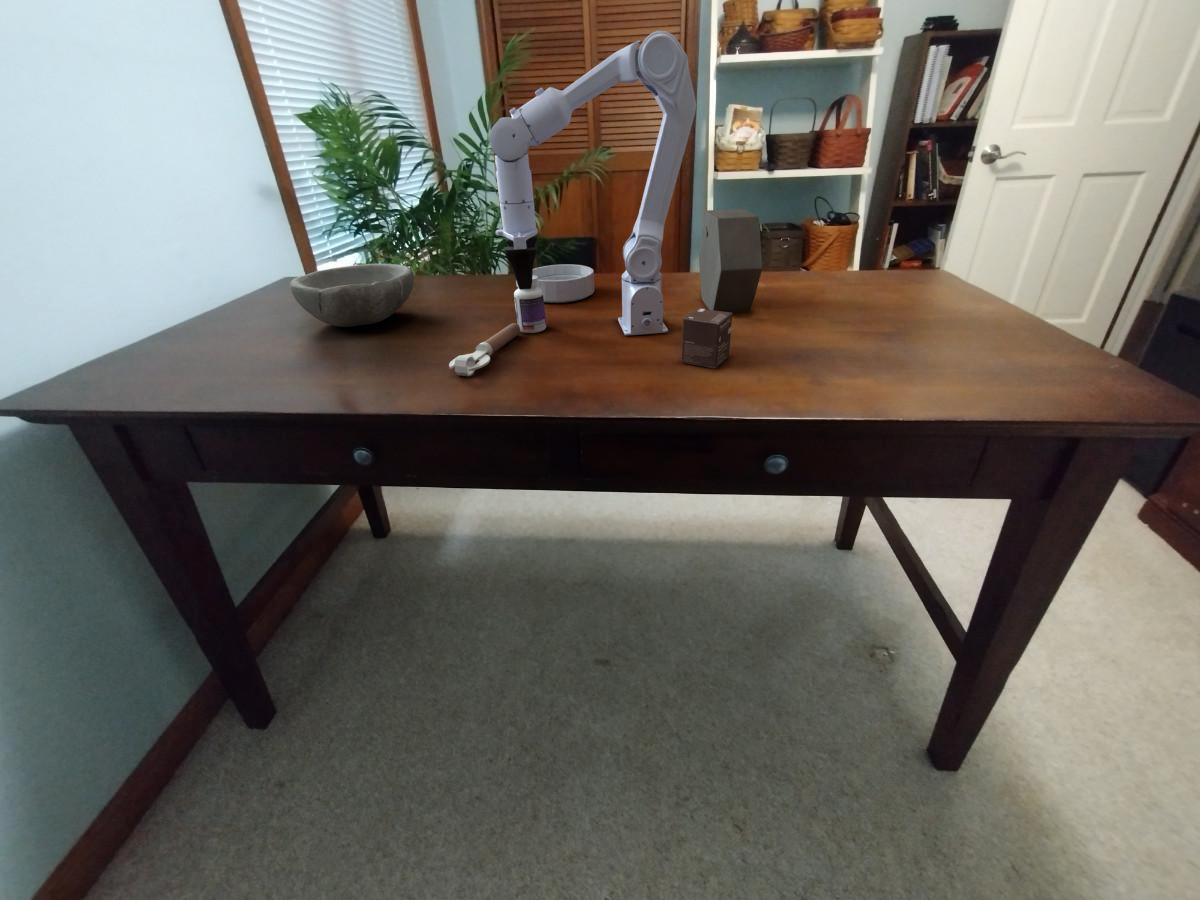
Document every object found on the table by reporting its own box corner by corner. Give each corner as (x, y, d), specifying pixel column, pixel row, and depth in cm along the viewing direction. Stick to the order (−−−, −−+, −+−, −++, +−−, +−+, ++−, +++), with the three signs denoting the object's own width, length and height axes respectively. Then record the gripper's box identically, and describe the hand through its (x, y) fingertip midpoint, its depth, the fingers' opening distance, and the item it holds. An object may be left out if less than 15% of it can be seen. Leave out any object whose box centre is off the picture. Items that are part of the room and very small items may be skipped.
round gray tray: (597, 301, 117) (596, 278, 115) (528, 306, 116) (525, 283, 114) (590, 284, 130) (589, 262, 128) (528, 288, 129) (526, 266, 126)
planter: (764, 297, 99) (757, 186, 100) (722, 300, 99) (715, 188, 99) (739, 322, 116) (732, 227, 116) (703, 324, 116) (696, 229, 116)
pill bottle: (552, 328, 104) (547, 276, 99) (531, 336, 100) (525, 282, 95) (533, 322, 107) (528, 272, 102) (512, 330, 103) (505, 278, 98)
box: (715, 370, 84) (719, 323, 80) (679, 363, 87) (681, 318, 83) (729, 356, 88) (733, 312, 84) (695, 350, 91) (697, 307, 87)
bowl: (440, 306, 119) (431, 259, 114) (389, 342, 100) (375, 288, 95) (345, 304, 123) (332, 258, 118) (279, 339, 104) (260, 286, 99)
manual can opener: (494, 333, 102) (492, 317, 101) (524, 334, 101) (523, 318, 100) (445, 377, 85) (441, 359, 84) (480, 379, 84) (477, 361, 83)
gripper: (495, 197, 97) (504, 274, 104) (490, 208, 85) (501, 295, 92) (534, 195, 98) (541, 272, 105) (535, 206, 86) (543, 292, 93)
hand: (525, 283), depth 99 cm, fingers open, 7 cm apart
